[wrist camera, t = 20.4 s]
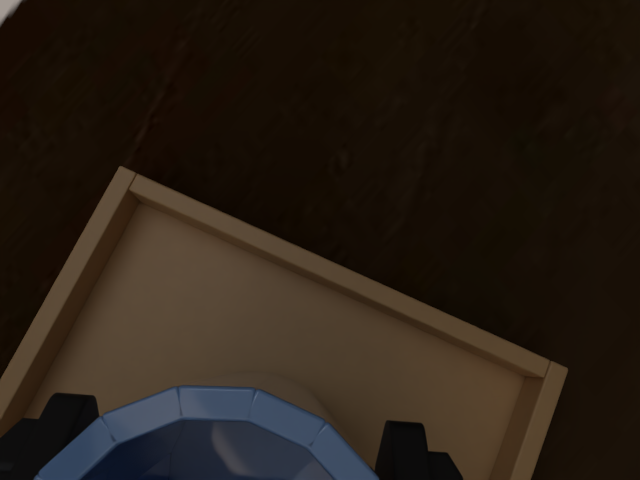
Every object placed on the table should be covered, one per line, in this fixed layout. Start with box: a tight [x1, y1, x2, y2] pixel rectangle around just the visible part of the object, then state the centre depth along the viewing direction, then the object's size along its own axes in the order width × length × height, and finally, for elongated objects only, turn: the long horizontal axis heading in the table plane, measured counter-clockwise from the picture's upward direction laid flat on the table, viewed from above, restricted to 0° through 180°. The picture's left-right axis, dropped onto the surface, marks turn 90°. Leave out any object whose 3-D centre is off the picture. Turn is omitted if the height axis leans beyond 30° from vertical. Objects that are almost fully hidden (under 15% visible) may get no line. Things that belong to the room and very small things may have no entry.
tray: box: [0, 166, 568, 480], centre depth 17 cm, size 15×13×2 cm
